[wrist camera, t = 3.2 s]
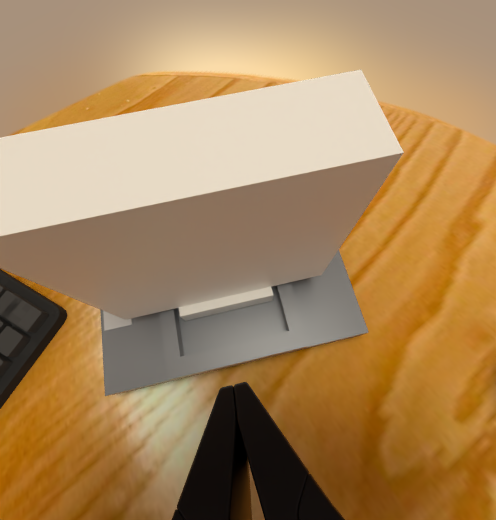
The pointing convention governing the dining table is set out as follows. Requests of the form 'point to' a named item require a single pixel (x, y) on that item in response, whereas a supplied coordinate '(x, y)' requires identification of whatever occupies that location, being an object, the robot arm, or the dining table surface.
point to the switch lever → (195, 197)
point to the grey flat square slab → (229, 332)
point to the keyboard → (23, 330)
